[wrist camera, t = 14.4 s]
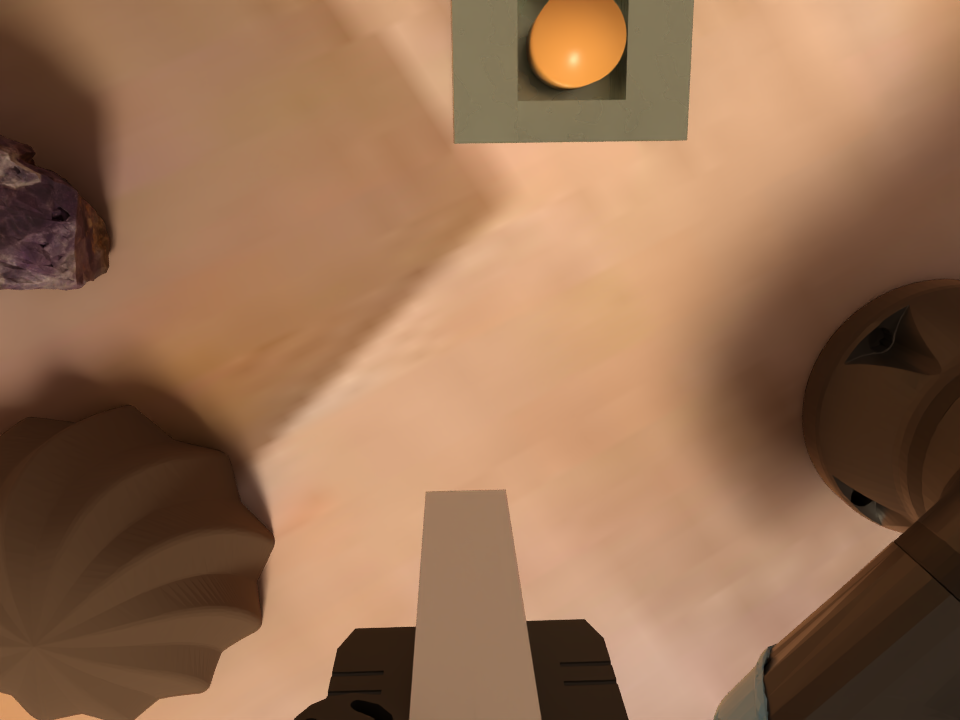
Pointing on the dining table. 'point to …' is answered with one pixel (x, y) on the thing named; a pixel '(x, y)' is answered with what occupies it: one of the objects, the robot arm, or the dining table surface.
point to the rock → (45, 227)
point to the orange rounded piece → (575, 42)
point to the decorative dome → (119, 565)
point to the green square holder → (569, 113)
